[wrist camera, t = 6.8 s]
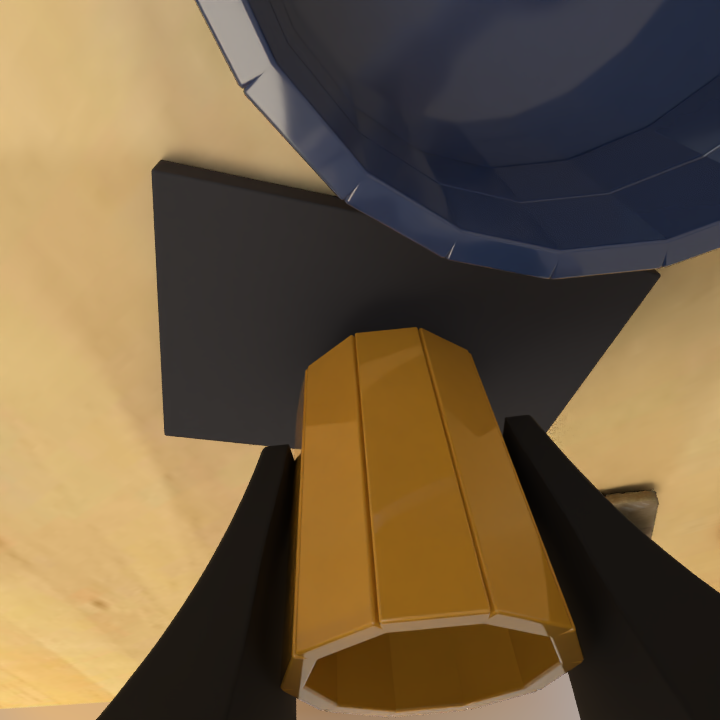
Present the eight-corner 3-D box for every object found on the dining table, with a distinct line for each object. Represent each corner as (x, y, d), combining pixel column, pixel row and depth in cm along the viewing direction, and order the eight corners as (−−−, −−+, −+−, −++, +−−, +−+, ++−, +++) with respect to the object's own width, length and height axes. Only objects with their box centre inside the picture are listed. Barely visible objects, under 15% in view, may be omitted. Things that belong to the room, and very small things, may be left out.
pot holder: (648, 261, 14) (662, 275, 13) (512, 457, 20) (518, 472, 19) (159, 158, 11) (150, 169, 11) (169, 419, 17) (163, 436, 17)
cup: (511, 341, 12) (651, 618, 7) (442, 466, 16) (502, 716, 11) (318, 310, 11) (312, 605, 6) (288, 450, 15) (267, 719, 10)
